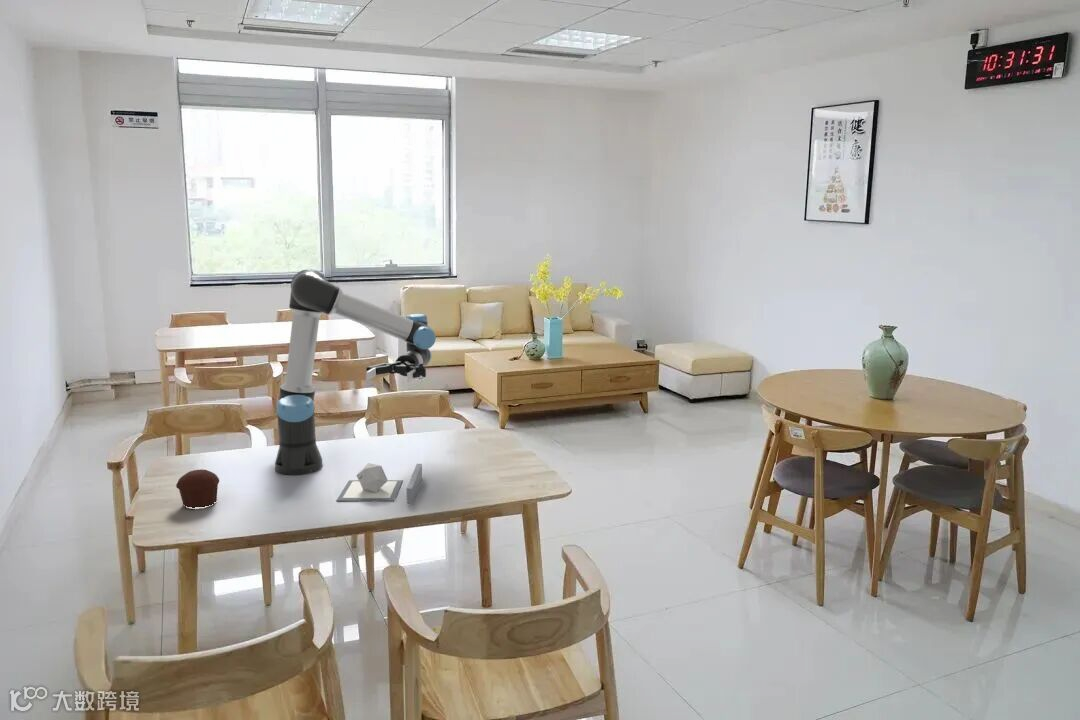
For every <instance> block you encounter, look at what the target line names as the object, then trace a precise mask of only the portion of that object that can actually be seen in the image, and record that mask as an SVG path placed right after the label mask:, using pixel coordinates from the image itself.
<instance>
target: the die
mask: <svg viewBox="0 0 1080 720" xmlns="http://www.w3.org/2000/svg"><path fill="white" fill-rule="evenodd" d="M356 477H357V479H358V480H359V482H360V484H361V486H362V489H363V490H366V491H371V492H375V493H376V492H377V491H378V490H379V489H380V488H381V487H382V486H383V485H384V484H385V483H386V482H387V481H388V480H389V479H388V478H387V475H386V473H385V471H384V469H383V467H382V465H380V464H375V463H369V462H368V463H367V464H366V465H365V466H364V467H363V468H362V469H361V470H360V471H359V472H358V473H357V474H356Z"/></svg>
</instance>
